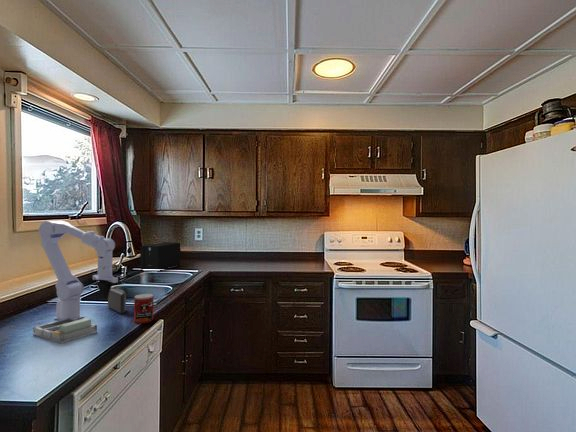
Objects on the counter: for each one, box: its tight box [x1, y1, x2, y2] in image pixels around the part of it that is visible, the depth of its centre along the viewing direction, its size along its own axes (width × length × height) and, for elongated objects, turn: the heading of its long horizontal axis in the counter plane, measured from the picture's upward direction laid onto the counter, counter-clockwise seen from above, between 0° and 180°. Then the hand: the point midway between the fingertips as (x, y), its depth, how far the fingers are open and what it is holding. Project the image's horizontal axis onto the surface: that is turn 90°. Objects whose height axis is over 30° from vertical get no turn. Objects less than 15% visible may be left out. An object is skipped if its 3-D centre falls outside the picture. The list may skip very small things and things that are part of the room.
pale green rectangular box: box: [60, 317, 92, 334], centre depth 137 cm, size 3×10×4 cm, turn 152°
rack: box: [32, 318, 98, 344], centre depth 139 cm, size 18×14×3 cm
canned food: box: [133, 293, 154, 324], centre depth 156 cm, size 8×8×11 cm
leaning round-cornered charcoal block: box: [107, 288, 127, 314], centre depth 172 cm, size 16×5×9 cm, turn 47°
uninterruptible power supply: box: [139, 241, 182, 270], centre depth 291 cm, size 16×34×20 cm, turn 166°
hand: (104, 297), depth 156 cm, fingers closed
